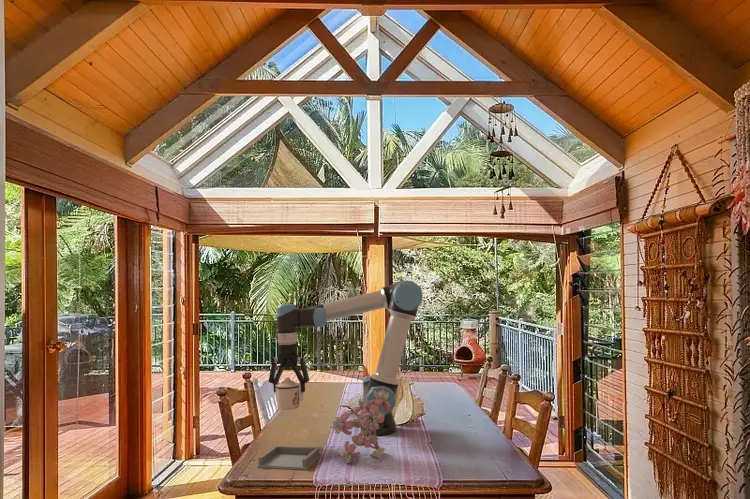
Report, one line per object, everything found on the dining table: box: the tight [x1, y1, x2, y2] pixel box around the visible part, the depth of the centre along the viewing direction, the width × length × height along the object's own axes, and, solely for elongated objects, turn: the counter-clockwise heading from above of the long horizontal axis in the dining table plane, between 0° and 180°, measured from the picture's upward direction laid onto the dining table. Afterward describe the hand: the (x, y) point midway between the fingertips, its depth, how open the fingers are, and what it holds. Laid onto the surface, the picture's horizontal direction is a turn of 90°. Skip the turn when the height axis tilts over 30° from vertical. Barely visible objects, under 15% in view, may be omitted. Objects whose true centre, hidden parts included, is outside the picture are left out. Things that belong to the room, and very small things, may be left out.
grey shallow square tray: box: [257, 445, 323, 471], centre depth 202 cm, size 18×16×3 cm
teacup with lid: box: [276, 377, 300, 411], centre depth 223 cm, size 12×9×12 cm
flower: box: [329, 387, 391, 464], centre depth 203 cm, size 20×22×25 cm
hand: (289, 400), depth 223 cm, fingers closed on teacup with lid, 9 cm apart
